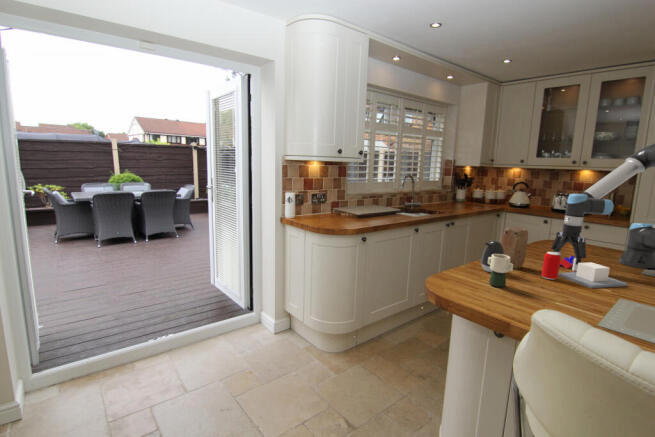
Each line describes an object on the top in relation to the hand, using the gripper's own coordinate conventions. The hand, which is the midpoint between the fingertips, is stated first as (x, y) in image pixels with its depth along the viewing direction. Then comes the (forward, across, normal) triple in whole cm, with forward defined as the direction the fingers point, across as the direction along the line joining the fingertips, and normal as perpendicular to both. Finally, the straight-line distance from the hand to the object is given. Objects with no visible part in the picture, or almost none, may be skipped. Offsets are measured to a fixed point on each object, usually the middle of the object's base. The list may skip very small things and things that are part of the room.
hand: (565, 267), depth 168 cm
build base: (0, +18, -6) cm, 19 cm away
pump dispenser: (+1, +1, -45) cm, 45 cm away
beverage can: (+1, +13, -24) cm, 27 cm away
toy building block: (0, 0, 0) cm, 1 cm away
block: (+1, -5, -29) cm, 29 cm away
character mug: (+1, +18, -56) cm, 59 cm away
